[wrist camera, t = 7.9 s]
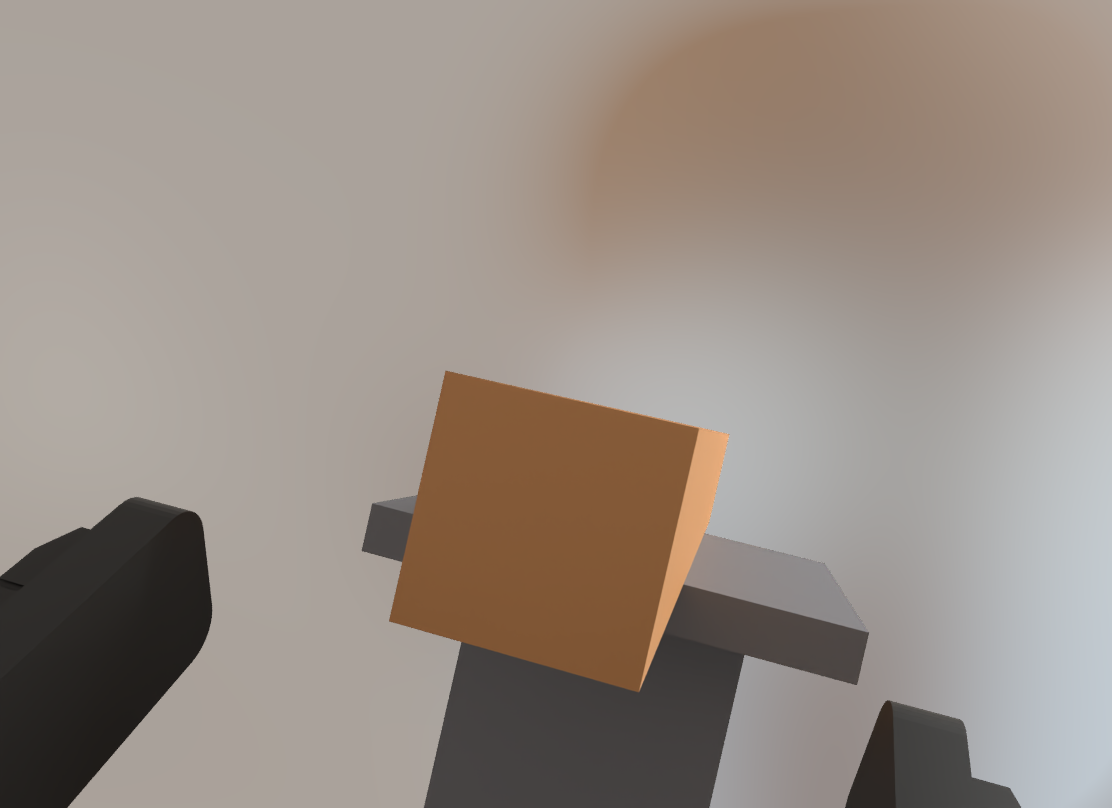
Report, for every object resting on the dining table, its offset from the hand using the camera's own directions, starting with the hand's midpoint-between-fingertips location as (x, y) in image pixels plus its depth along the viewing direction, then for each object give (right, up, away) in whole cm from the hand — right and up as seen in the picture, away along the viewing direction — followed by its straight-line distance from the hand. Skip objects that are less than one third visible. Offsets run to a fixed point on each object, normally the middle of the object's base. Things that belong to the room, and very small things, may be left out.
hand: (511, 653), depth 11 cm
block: (+2, 0, +11) cm, 11 cm away
